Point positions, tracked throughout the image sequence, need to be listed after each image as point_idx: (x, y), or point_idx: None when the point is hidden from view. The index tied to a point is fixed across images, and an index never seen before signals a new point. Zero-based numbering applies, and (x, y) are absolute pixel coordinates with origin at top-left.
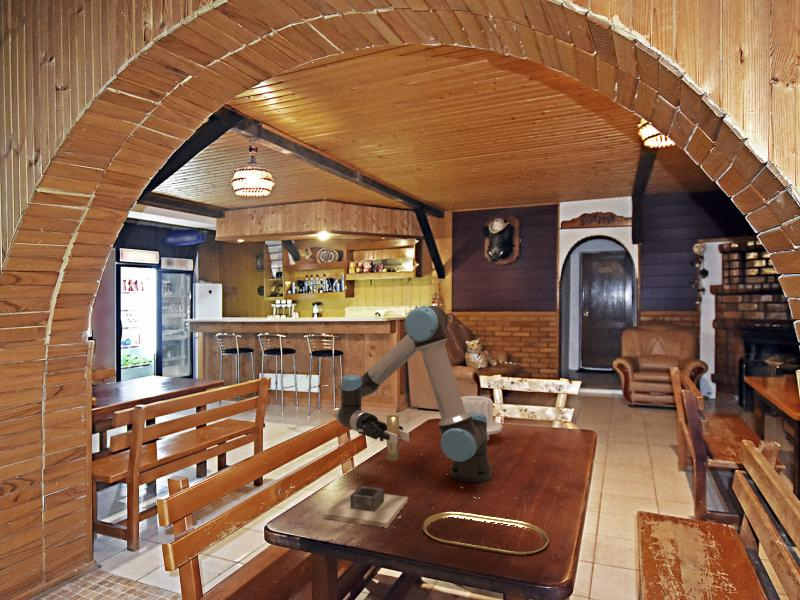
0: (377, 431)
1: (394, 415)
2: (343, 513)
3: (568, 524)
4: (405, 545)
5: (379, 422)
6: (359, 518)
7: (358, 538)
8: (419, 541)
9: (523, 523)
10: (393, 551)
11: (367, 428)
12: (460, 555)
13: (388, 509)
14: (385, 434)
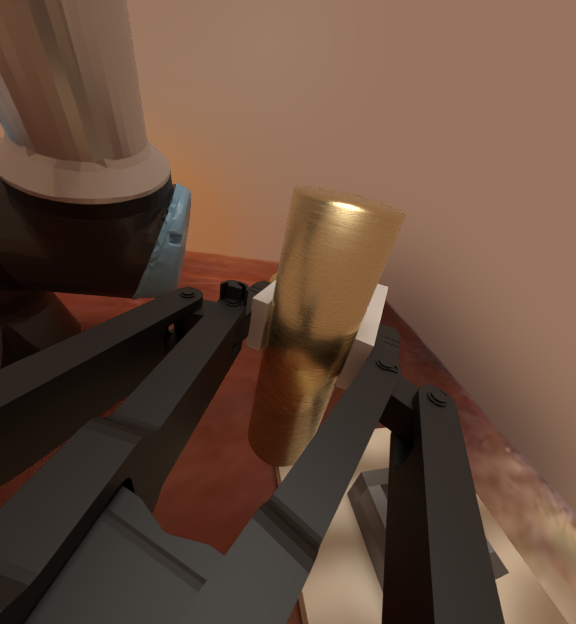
0: (424, 388)
1: (308, 193)
2: (519, 583)
3: (242, 260)
4: (429, 380)
5: (23, 559)
6: (477, 499)
7: (501, 463)
8: (402, 367)
9: (271, 282)
10: (457, 388)
11: (474, 595)
12: (385, 324)
13: (377, 451)
14: (389, 341)
